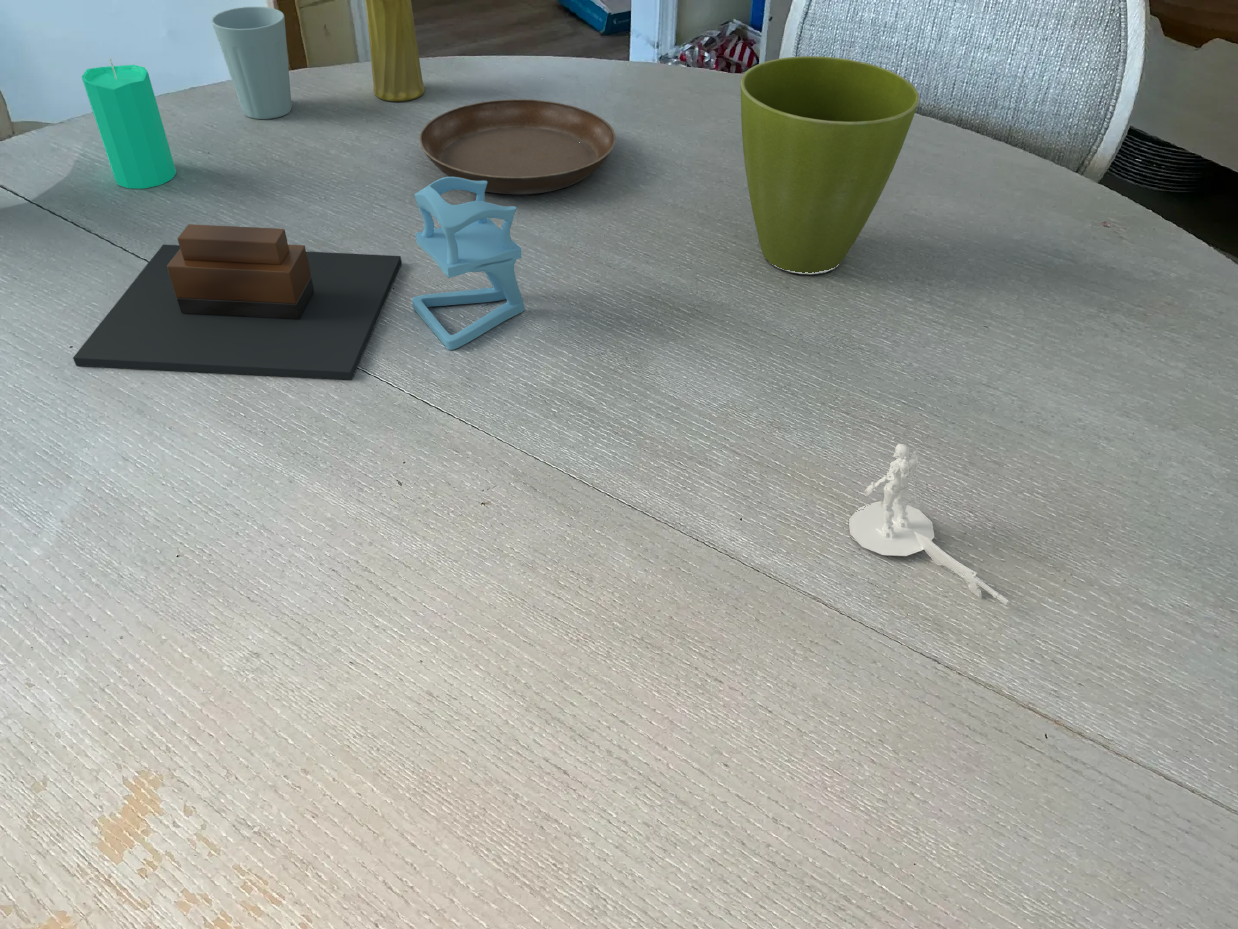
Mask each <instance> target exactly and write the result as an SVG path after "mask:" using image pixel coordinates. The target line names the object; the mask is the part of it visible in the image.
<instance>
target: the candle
mask: <svg viewBox="0 0 1238 929" xmlns="http://www.w3.org/2000/svg"><path fill="white" fill-rule="evenodd" d="M108 59H109V62H110V65H108V66H97V67H91V68H86V69H85V71H84V72H83V74H82V75H81V80H82V83H83V86H84V89H85V92H86V96H87V98H88V102H89V105H90V107H91V110H92V114H93V116H94V120H95V123H96V126H97V130H98V131H99V135H100V138H101V141H102V144H103V148H104V150H105V153H106V156H107V159H108V162H109V165H110V168H111V172H112V174H113V177H114V178H113V179H114V180H115V183H116V184H117V186H120V187H123V188H126V189H139V190H140V189H141V190H142V189H143V190H144V189H148V188H153V187H159V186H162V185H163V184H166V183H168V182H169V181H171V180H173V179H174V177H175V176H176V175H177V170H176V166H175V163H174V159H173V155H172V152H171V149H170V145H169V142H168V138H167V134H166V131H165V128H164V122H163V121H162V117H161V116H162V115H161V112H160V110H159V106H158V102H157V99H156V96H155V92H154V89H153V84H152V82H151V77H150V74H149V71H148V69H147V68H146V67H144V66H141V65H137V64H123V65H114V64H113V61H112V57H108Z"/></svg>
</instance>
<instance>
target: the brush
mask: <svg viewBox="0 0 1238 929" xmlns="http://www.w3.org/2000/svg"><path fill="white" fill-rule="evenodd" d="M177 242H178V245H179V246H180V250H179V251H178V252H177V253H176V255H175V256H174V257H173V259H172V260H171V261H170V263H169V264H168V265H167V268H168V272H169V275H170V278H171V281H172V285H173V288H174V291H175V294H176V297H177V301H178V304H179V308H180V311H181V313H187V314H207V315H226V316H246V317H266V318H286V319H300V318H301V316H302V314H303V312H304V310H305V308H306V306H307V304H308V303H309V301H310V299H311V297H312V295H313V293H314V287H313V282H312V277H311V273H310V268H309V263H308V258H307V253H306V251H307V248H306V245H305V244H290V243H289V242H288V237H287V232H286V230H285V228H278V227H276V228H275V227H259V226H258V227H255V226H236V225H235V226H234V225H216V224H215V225H214V224H194V223H193V224H192V223H188V224H187V225H186V226H185V227H184V229H183V230H182V231H181V233H180V234H179V235H178V236H177Z"/></svg>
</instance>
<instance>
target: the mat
mask: <svg viewBox="0 0 1238 929" xmlns="http://www.w3.org/2000/svg"><path fill="white" fill-rule="evenodd" d="M179 250H180V246H179V244H161V246H160V248H159V249H158V250H157V251H156V252H155V254H154V255H153V257H151V258H150V260H149V261H148V263H147V264H146V265H145V267H144V268H143V269H142V270H141V271H140V273H139V274H138V275H137V276H136V278H135V279H134V280H133V281H132V283H131V284H130V285H129V286H128V287H127V289H126V291H125V292H124V293H123V294H122V296H121V297H120V298H119V299H118V301H117V302H116V303H115V304H114V305H113V307H112V308H111V309H110V310H109V312H108V313H107V314H106V316H105V317H104V318H103V319H102V321H101V322H100V323H99V324H98V326H97V327H95V329H94V331H93V332H92V333H91V334H90V335H89V337H88V338H87V339H86V341H85V342H84V343H83V344H82V345H81V347H80V348H79V349H78V351H77V352H76V353H75V354H74V356H73V357H72V360H73V362H74V365H75V366H76V367H93V368H94V367H95V368H111V369H112V368H114V369H115V368H116V369H134V370H151V371H152V370H154V371H172V372H190V373H191V372H192V373H209V374H230V375H248V376H249V375H251V376H269V377H285V378H286V377H289V378H308V379H309V378H310V379H327V380H347V381H352V380H353V379H354V376H355V374H356V372H357V369H358V367H359V365H360V362H361V360H362V357H363V355H364V352H365V350H366V348H367V346H368V344H369V341H370V338H371V337H372V334H373V331H374V329H375V327H376V324H377V322H378V320H379V318H380V315H381V313H382V310H383V308H384V306H385V303H386V300H387V299H388V297H389V294H390V292H391V289H392V287H393V285H394V282H395V280H396V279H397V278H396V277H397V275H398V273H399V271H400V269H401V267H402V266H401V265H402V256H401V255H387V254H370V253H369V254H367V253H348V252H346V253H345V252H329V251H328V252H327V251H308V250H306V253H307V258H308V263H309V268H310V273H311V277H312V282H313V287H314V293H313V295H312V297H311V299H310V301H309V303H308V304H307V306H306V308H305V310H304V312H303V314H302V316H301V318H300V319H286V318H266V317H246V316H226V315H207V314H187V313H181V311H180V308H179V304H178V301H177V297H176V294H175V291H174V288H173V285H172V281H171V278H170V275H169V272H168V268H167V265H168V264H169V263H170V261H171V260H172V259H173V257H174V256H175V255H176V253H177V252H178V251H179Z"/></svg>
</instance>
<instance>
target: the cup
mask: <svg viewBox="0 0 1238 929" xmlns="http://www.w3.org/2000/svg"><path fill="white" fill-rule="evenodd" d="M285 20H286V19H285V14H284V13H283V12H282V11H281V10H279V9H277V8H273V7H267V6H243V7H235V8H229V9H226V10H223V11H221V12H219V13H216V14H214V15H213V17H212V18H211V24H212V28H213V30H214V33H215V36H216V38H217V39H216V40H217V42H218V45H219V47H220V49H221V52H222V55H223V58H224V61H225V65H226V67H227V70H228V73H229V76H230V78H231V82H232V85H233V88H234V90H235V93H236V96H237V99H238V102H239V104H240V108H241V110H242V113H243V115H244V116H246V117H248V118H250V119H254V120H271V119H272V120H273V119H276V118H281V117H283V116H286V115H287V114H288V113H290V112H291V111H292V108H293V107H292V106H293V105H292V93H291V82H290V80H291V79H290V68H289V57H288V46H287V31H286V21H285Z"/></svg>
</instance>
